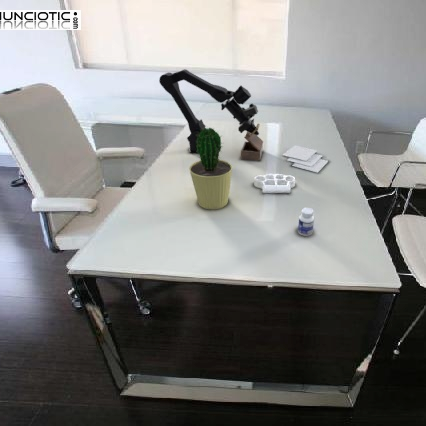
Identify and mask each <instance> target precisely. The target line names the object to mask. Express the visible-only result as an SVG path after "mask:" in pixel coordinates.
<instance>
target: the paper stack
mask: <svg viewBox="0 0 426 426" xmlns="http://www.w3.org/2000/svg"><path fill="white" fill-rule="evenodd" d="M317 152H318V150H316V149H311V148H307V147H303V146H300V145H293V146H292V147H290V148H289V149H288V150H286V151H285V152H284V153H282V156H285V157H288V158H287V159H286V161H288V162H292V163H293V164H292V165H291V166H292V167H295V168H299V169H303V170H306V171H309V172H310V171H311V172H313V173H319V172H320V171H321V170H322V169H323V168H324V166H325V165H327V164H328V163H329V160H327V159H322V157H323V155H322V154H317Z"/></svg>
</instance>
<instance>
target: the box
mask: <svg viewBox="0 0 426 426" xmlns="http://www.w3.org/2000/svg"><path fill="white" fill-rule="evenodd" d="M263 148H264V144H263V145H262V148H261V151H260V152H259V151H258V150H257V149H256V148H255V147H254V146H253V145H251V144H250V143H249V142H248V141H244V143H243V145H242V148H241V150H240V160H242V161H243V160H244V161H255V162H256V161H257V162H260V161H261V159H262V156H263V151H264V149H263Z"/></svg>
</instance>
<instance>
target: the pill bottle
mask: <svg viewBox="0 0 426 426" xmlns="http://www.w3.org/2000/svg"><path fill="white" fill-rule="evenodd" d="M314 223H315V216H314V210H313V208H311V207H303V208H302V209H301V214H299V217H298V225H297V232H298V234H300V235H301V236H303V237H308V236H311V235H312V234H313V231H314Z"/></svg>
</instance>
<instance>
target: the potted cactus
mask: <svg viewBox="0 0 426 426" xmlns="http://www.w3.org/2000/svg"><path fill="white" fill-rule="evenodd" d="M202 129H203V130H202V131H201V133H198V134H199V136H198V140H197V143H196V144H197V147H196V148H197V151H198V153H197V152H196V153H195V154H196V155H197V154H198V155H199V158H200V160H198V161H197V160H196V161H195V162H193V163H191V164H190V166H189V169H188V170H189V173H190V174H189V175H190V177H191V181H192V185H193V188H194V191H195V195H196V198H197V203H198V204H199V206H200V208H203V209H206V210H218V209H219V210H220V209H222V208H224V207H225V206H227V204H228V202H229V196H230V187H231V180H232V172H233V165H232V164H231V163H229V162H228V161H225V160H222V159H220V158H221V155H220V153H221V151H222V148H223V147H224V146H223V145H222V144H223V142H222V136H221V135H220V134H219V131H220V130H217V131H216V130H215V129H214V128H213V127H208V128H207V127H205V129H204V128H202ZM196 135H197V134H196ZM195 142H196V141H195Z"/></svg>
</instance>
